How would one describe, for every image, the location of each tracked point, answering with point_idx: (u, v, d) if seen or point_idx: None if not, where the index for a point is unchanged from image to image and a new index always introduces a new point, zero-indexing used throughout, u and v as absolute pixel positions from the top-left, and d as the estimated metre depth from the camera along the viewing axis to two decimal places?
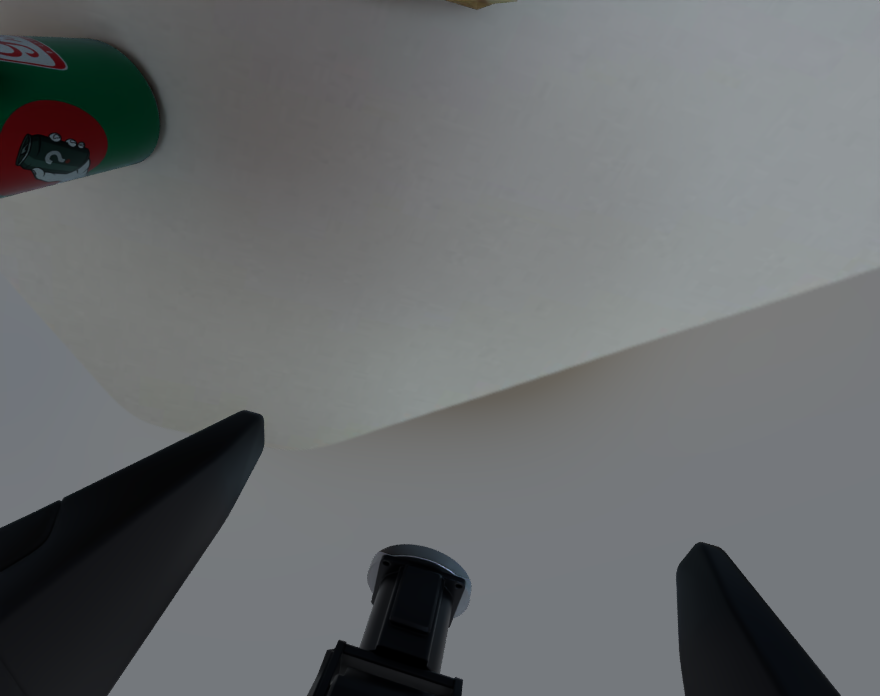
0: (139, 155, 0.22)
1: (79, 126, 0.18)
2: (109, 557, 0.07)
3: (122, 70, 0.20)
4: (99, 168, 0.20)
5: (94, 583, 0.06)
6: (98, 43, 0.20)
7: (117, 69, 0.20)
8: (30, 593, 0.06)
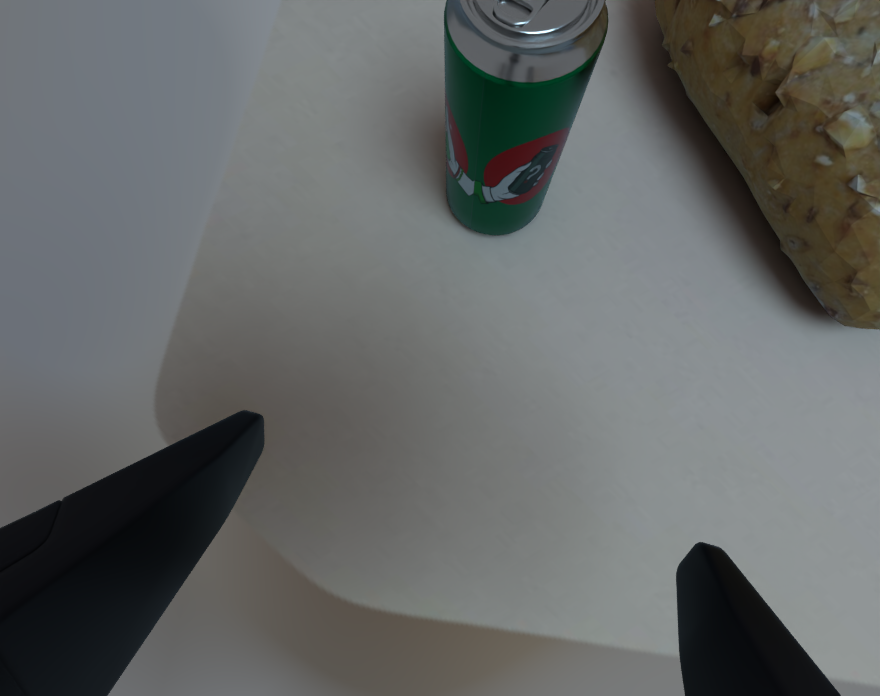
0: (499, 227, 0.24)
1: (547, 175, 0.20)
2: (109, 557, 0.07)
3: None
4: (498, 207, 0.22)
5: (94, 583, 0.06)
6: None
7: None
8: (30, 593, 0.06)
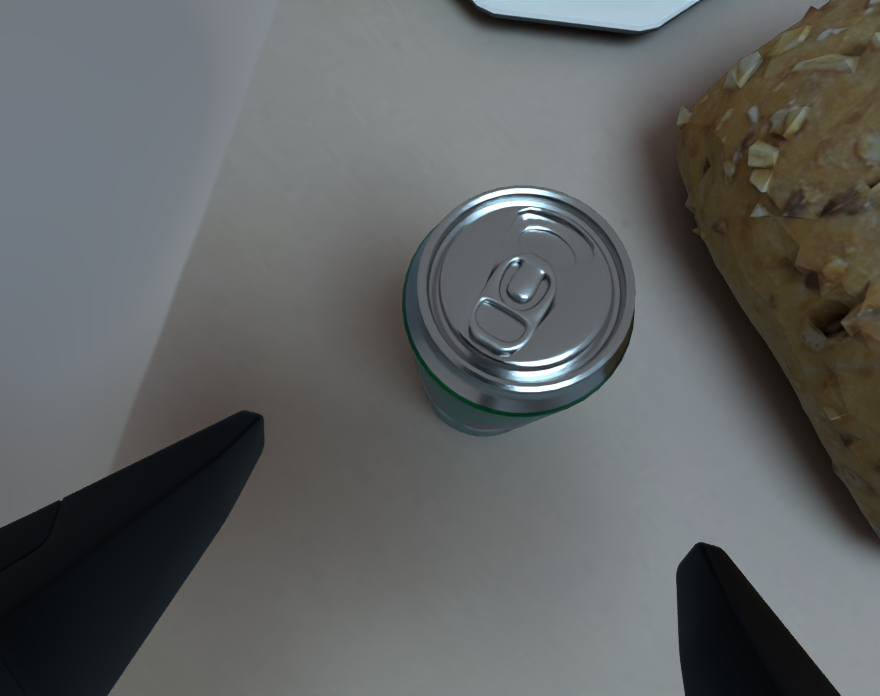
0: (487, 435, 0.19)
1: None
2: (109, 557, 0.07)
3: None
4: None
5: (94, 583, 0.06)
6: None
7: None
8: (30, 593, 0.06)
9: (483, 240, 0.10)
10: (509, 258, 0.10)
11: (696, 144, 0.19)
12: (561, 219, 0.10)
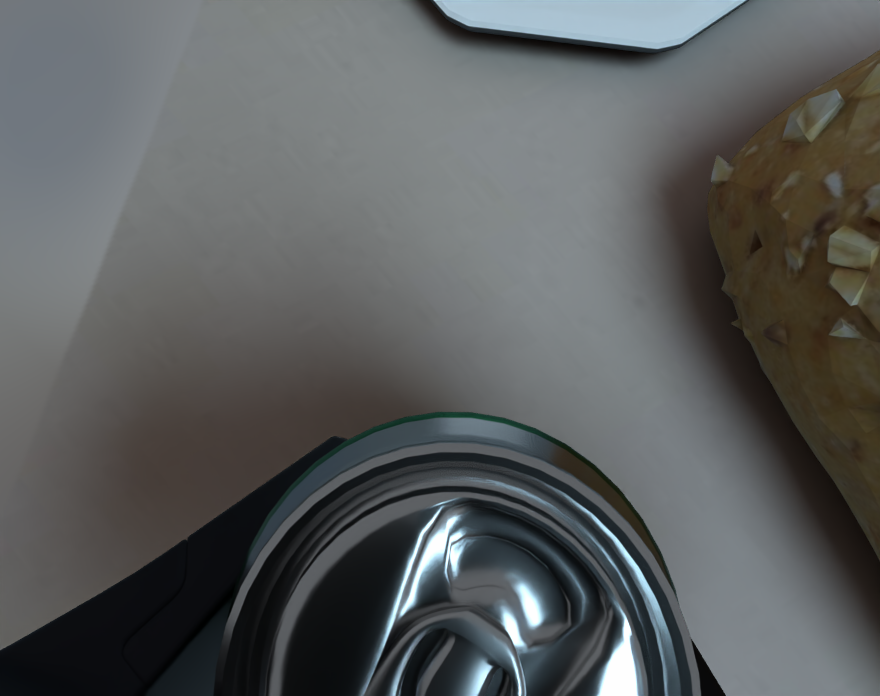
0: None
1: None
2: None
3: None
4: None
5: None
6: None
7: None
8: (182, 643, 0.05)
9: (366, 582, 0.04)
10: (423, 616, 0.04)
11: (740, 212, 0.14)
12: (538, 525, 0.05)
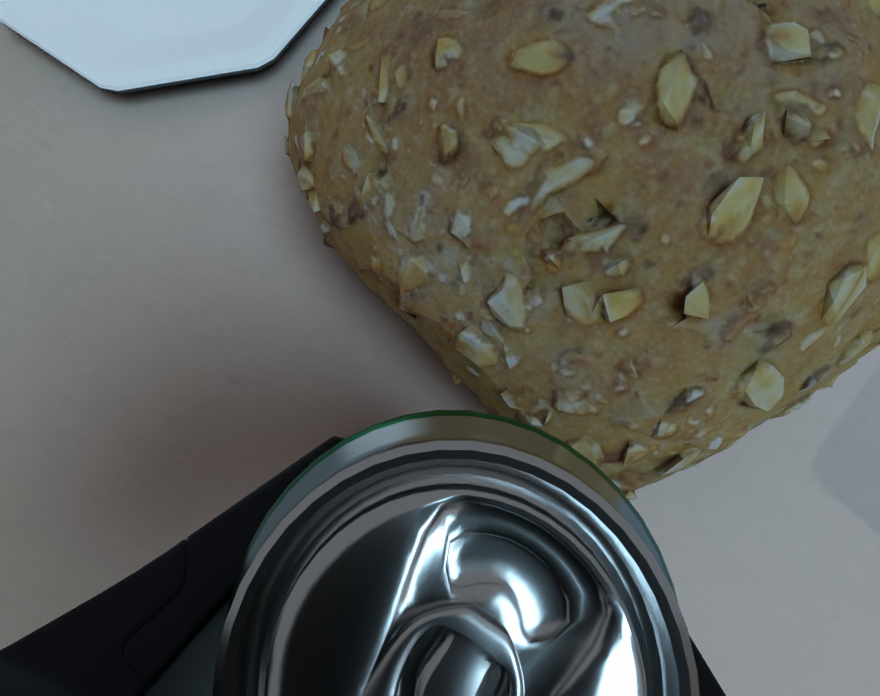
0: None
1: None
2: None
3: None
4: None
5: None
6: None
7: None
8: (182, 643, 0.05)
9: (365, 579, 0.04)
10: (422, 613, 0.04)
11: (296, 170, 0.21)
12: (537, 523, 0.05)
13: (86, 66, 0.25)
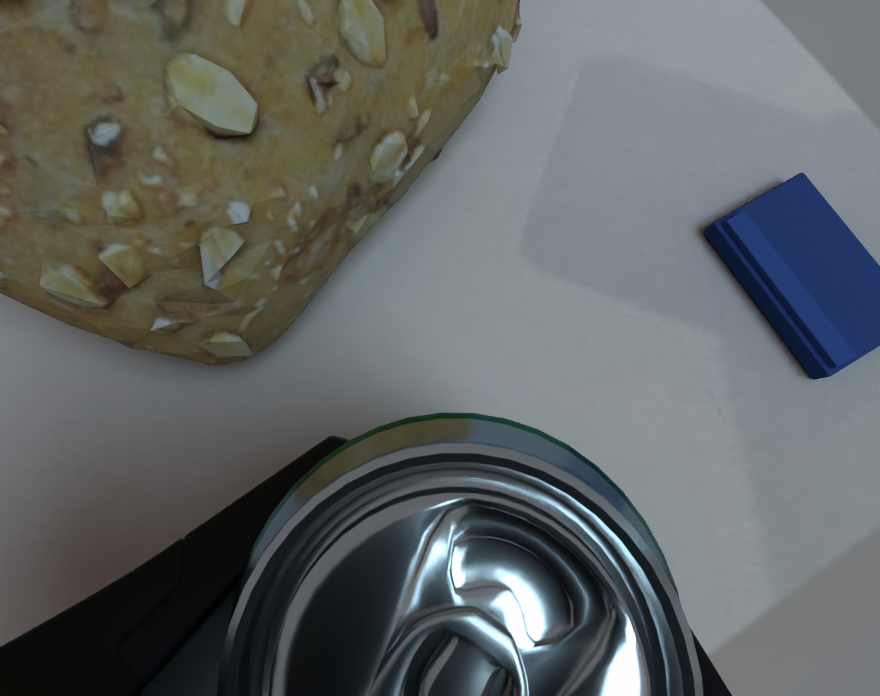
0: None
1: None
2: None
3: None
4: None
5: (223, 625, 0.06)
6: None
7: None
8: (178, 642, 0.05)
9: (369, 582, 0.04)
10: (426, 617, 0.04)
11: None
12: (541, 527, 0.05)
13: None
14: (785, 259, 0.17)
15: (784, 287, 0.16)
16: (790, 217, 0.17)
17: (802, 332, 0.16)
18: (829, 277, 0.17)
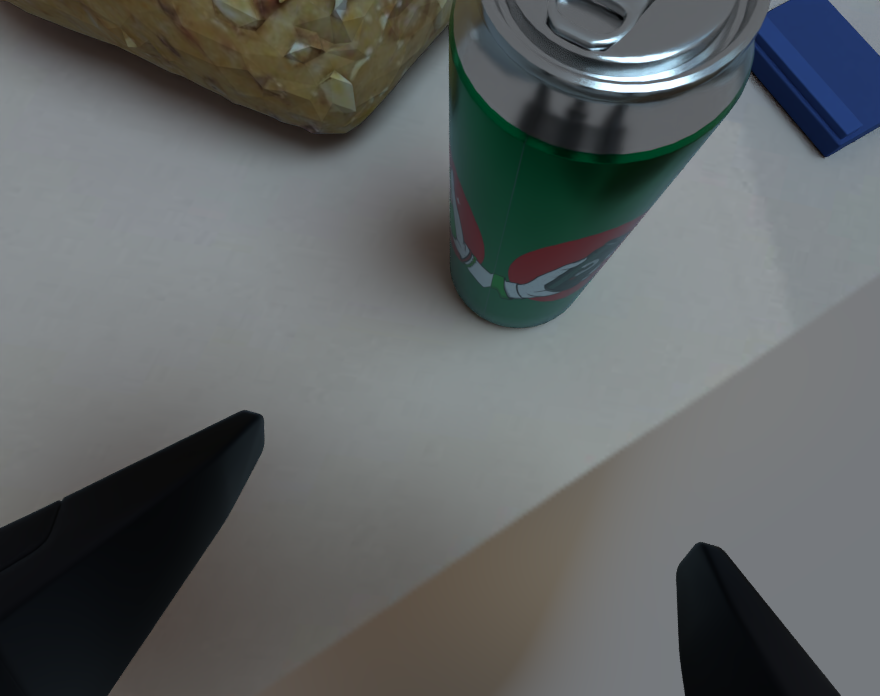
0: (525, 321, 0.17)
1: (603, 264, 0.14)
2: (109, 557, 0.07)
3: None
4: (527, 303, 0.15)
5: (94, 583, 0.06)
6: None
7: None
8: (30, 593, 0.06)
9: None
10: None
11: None
12: None
13: None
14: (800, 55, 0.19)
15: (800, 74, 0.19)
16: (805, 22, 0.20)
17: (816, 111, 0.19)
18: (839, 68, 0.19)
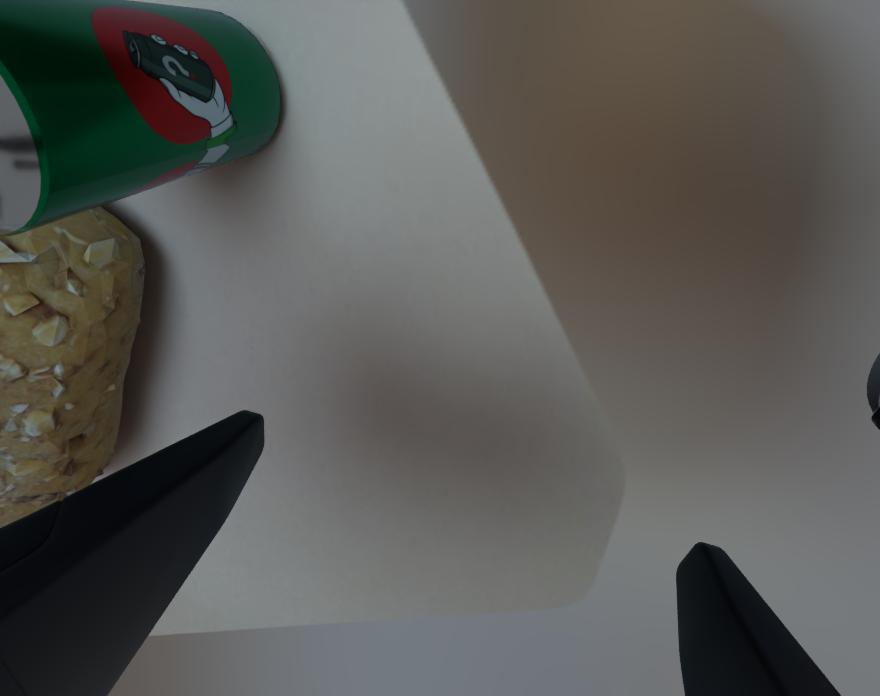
0: (268, 91, 0.18)
1: (178, 33, 0.14)
2: (109, 557, 0.07)
3: (194, 8, 0.17)
4: (238, 105, 0.16)
5: (94, 583, 0.06)
6: None
7: (189, 8, 0.17)
8: (30, 593, 0.06)
9: None
10: None
11: None
12: None
13: None
14: None
15: None
16: None
17: None
18: None
